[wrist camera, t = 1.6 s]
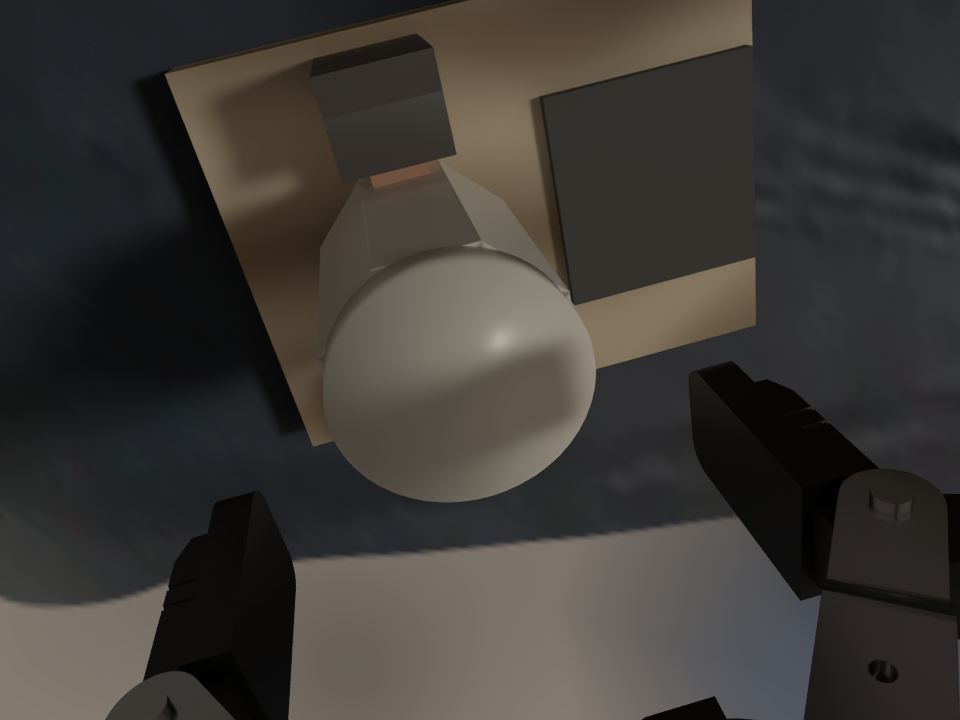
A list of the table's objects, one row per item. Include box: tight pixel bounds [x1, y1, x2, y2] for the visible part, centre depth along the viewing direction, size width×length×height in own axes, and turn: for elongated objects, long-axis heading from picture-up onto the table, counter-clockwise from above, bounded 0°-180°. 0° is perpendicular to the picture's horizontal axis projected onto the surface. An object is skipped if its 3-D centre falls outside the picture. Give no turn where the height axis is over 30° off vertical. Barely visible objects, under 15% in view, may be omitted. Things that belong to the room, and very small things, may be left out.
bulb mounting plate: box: [165, 0, 756, 446], centre depth 21 cm, size 13×17×10 cm
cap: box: [317, 160, 596, 502], centre depth 19 cm, size 9×6×8 cm, turn 11°
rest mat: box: [540, 45, 755, 306], centre depth 24 cm, size 7×7×1 cm
